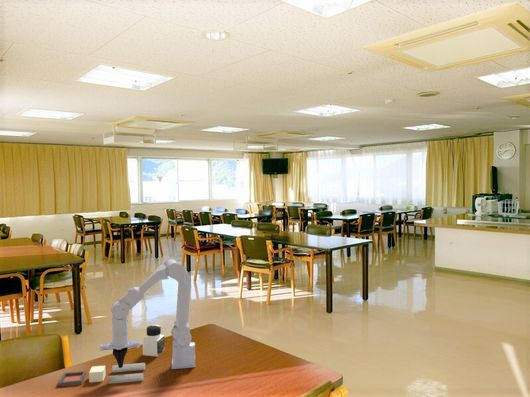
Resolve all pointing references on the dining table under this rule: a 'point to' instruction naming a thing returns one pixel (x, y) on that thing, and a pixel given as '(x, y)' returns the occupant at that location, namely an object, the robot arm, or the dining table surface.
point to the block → (97, 374)
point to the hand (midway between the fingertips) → (120, 366)
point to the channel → (129, 376)
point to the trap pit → (72, 378)
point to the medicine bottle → (153, 341)
